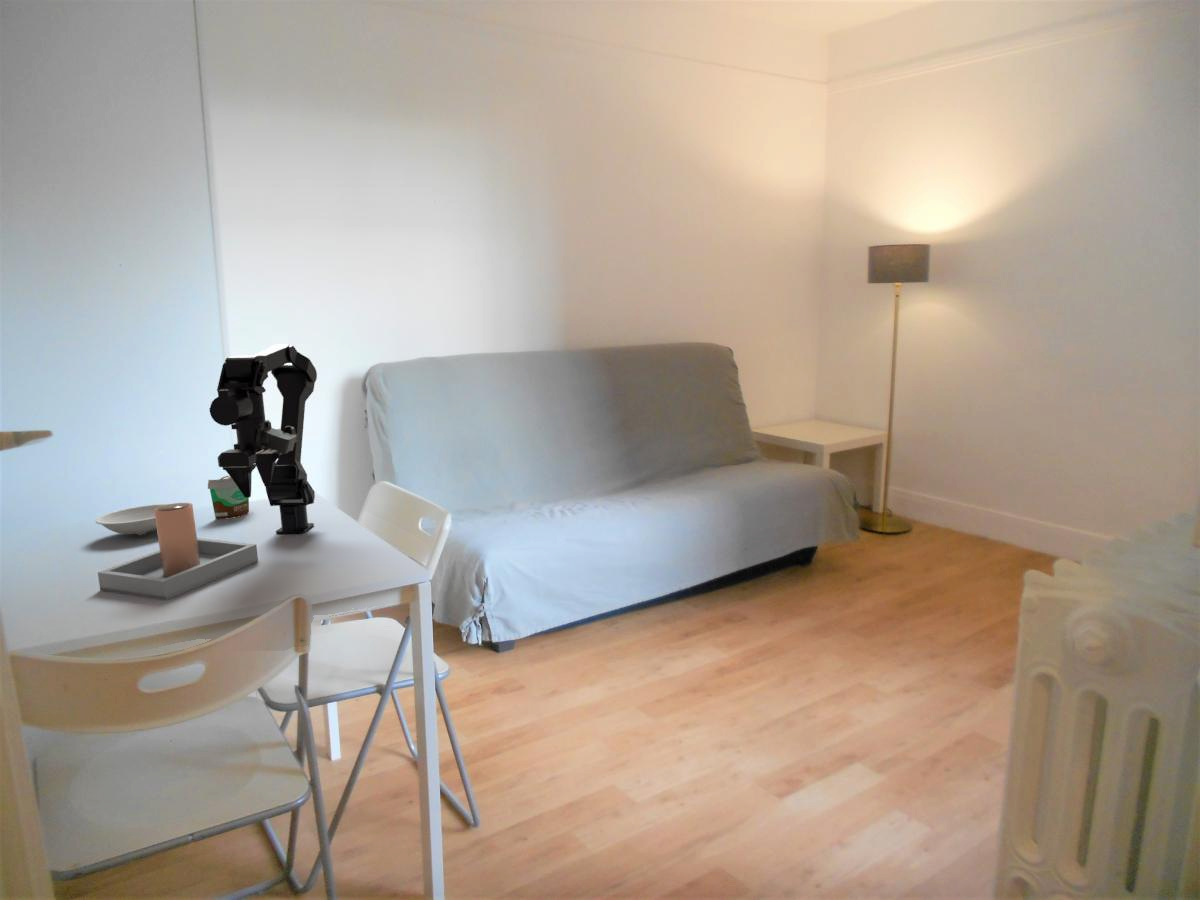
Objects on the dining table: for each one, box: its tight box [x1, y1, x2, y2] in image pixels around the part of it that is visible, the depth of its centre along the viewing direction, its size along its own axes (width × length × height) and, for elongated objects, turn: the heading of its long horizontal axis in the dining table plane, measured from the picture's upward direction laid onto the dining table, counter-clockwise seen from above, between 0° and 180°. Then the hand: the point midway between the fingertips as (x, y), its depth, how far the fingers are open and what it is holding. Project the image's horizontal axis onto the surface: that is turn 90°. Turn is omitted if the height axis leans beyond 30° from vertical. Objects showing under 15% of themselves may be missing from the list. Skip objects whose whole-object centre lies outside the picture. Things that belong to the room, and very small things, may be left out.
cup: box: [154, 502, 200, 577], centre depth 161 cm, size 7×7×13 cm
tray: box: [97, 537, 259, 601], centre depth 162 cm, size 22×16×4 cm
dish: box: [95, 503, 168, 536], centre depth 191 cm, size 18×14×5 cm
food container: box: [207, 475, 250, 520], centre depth 205 cm, size 12×6×10 cm, turn 168°
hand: (258, 491), depth 173 cm, fingers open, 9 cm apart
